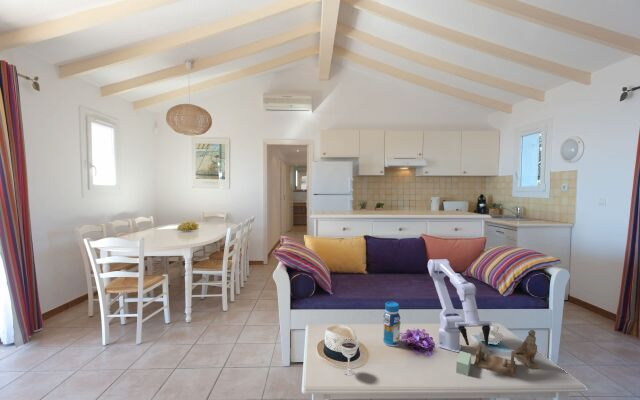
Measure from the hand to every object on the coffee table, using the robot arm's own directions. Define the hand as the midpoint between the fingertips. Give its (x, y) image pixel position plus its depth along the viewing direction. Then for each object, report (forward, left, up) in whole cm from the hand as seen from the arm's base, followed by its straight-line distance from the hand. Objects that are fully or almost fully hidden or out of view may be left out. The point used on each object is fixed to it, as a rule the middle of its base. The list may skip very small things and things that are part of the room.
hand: (477, 344), depth 130 cm
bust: (+3, +29, -12) cm, 32 cm away
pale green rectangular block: (-5, -2, -11) cm, 12 cm away
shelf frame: (+6, +9, -11) cm, 16 cm away
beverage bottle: (-39, +1, -11) cm, 40 cm away
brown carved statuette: (+17, +20, -12) cm, 29 cm away
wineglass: (-45, -33, -11) cm, 57 cm away
